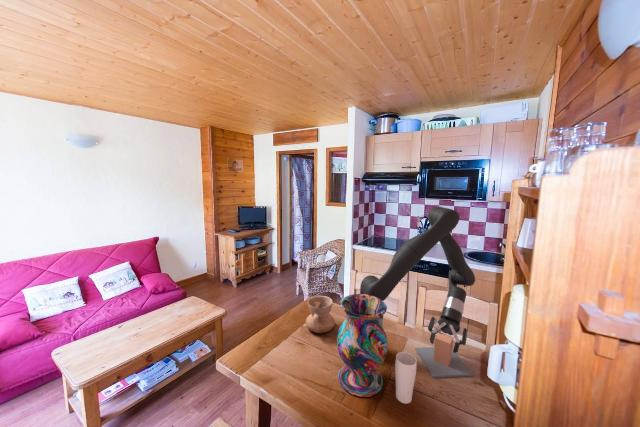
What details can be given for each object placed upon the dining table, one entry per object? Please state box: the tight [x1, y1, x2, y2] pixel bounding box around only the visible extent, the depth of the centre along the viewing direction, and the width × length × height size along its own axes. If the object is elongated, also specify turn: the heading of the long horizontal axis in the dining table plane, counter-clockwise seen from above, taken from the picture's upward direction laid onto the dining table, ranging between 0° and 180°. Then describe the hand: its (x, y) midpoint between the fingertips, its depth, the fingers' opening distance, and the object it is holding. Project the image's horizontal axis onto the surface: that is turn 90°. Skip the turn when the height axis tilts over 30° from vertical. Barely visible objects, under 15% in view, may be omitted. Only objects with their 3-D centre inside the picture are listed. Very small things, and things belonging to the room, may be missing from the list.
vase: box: [336, 293, 389, 398], centre depth 93 cm, size 18×18×30 cm
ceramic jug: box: [305, 295, 335, 334], centre depth 126 cm, size 18×14×14 cm
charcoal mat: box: [414, 346, 475, 379], centre depth 104 cm, size 16×16×1 cm
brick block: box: [434, 331, 455, 367], centre depth 104 cm, size 6×6×10 cm
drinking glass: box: [394, 351, 418, 405], centre depth 86 cm, size 7×7×15 cm
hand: (442, 347), depth 102 cm, fingers open, 8 cm apart
